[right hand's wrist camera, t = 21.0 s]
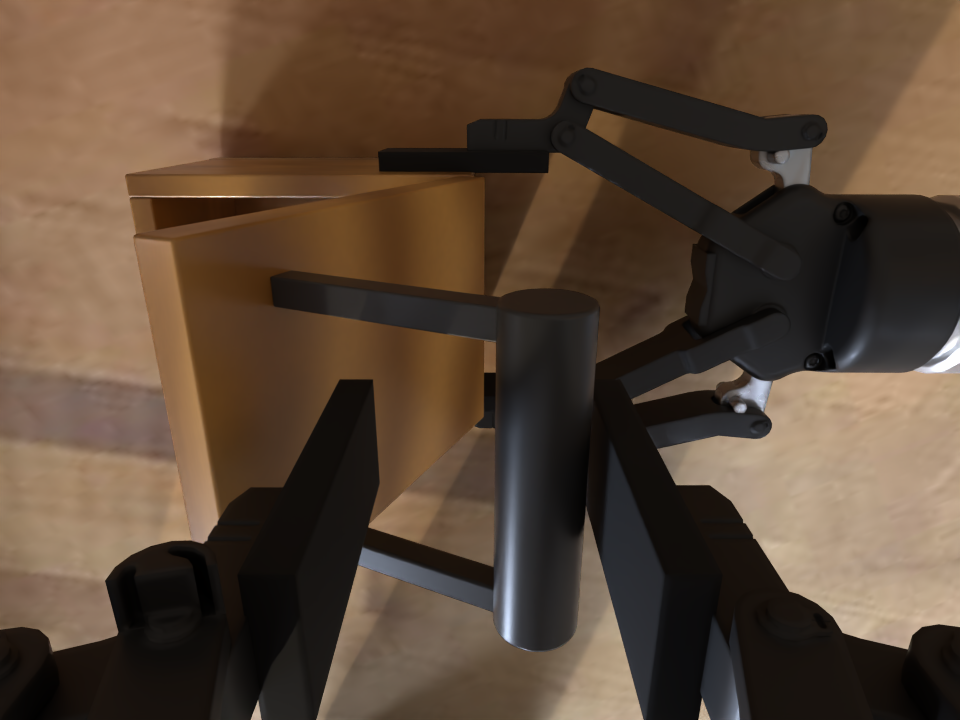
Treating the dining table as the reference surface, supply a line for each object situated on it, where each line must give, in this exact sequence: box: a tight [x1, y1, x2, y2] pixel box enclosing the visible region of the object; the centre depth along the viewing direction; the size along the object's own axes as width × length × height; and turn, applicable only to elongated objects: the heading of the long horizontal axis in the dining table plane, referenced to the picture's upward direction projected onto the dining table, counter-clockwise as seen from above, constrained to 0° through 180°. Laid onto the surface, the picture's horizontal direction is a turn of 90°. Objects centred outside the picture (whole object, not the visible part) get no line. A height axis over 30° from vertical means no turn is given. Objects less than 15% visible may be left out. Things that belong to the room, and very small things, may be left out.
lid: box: [133, 176, 600, 652], centre depth 18 cm, size 13×10×8 cm
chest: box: [125, 158, 474, 234], centre depth 29 cm, size 13×10×9 cm
